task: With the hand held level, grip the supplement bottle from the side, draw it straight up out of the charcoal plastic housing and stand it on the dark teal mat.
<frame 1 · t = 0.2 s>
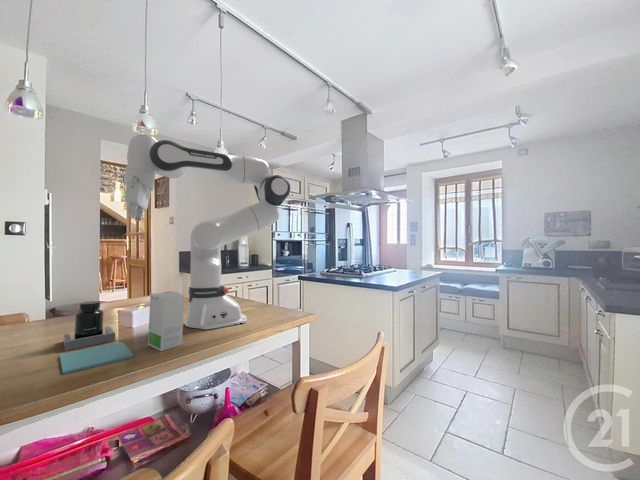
hand: (135, 219, 96), 39 cm above the table, tool pointing down, fingers open, 8 cm apart
mat: (96, 356, 74), on the table
housing: (89, 340, 86), on the table
supplement bottle: (89, 341, 86), resting in housing
skincare box: (166, 346, 83), on the table
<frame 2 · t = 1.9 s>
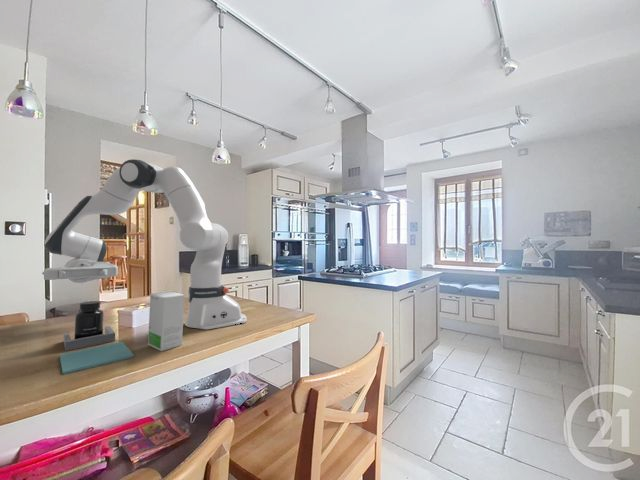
hand: (85, 274, 94), 20 cm above the table, tool horizontal, fingers open, 8 cm apart
nothing on the table moved.
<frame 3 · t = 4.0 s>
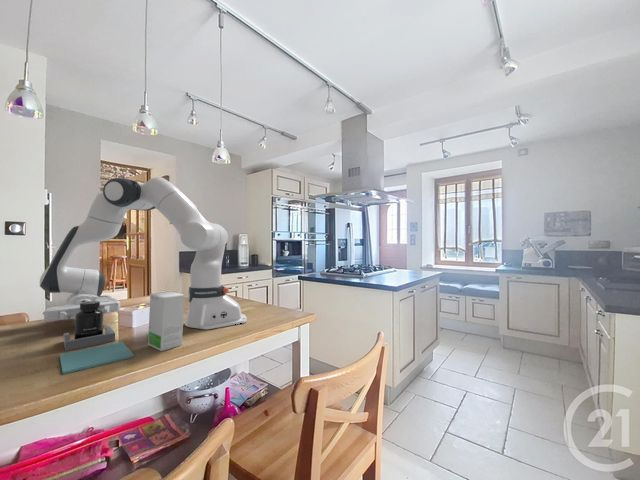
hand: (86, 313, 92), 7 cm above the table, tool horizontal, fingers open, 8 cm apart
nothing on the table moved.
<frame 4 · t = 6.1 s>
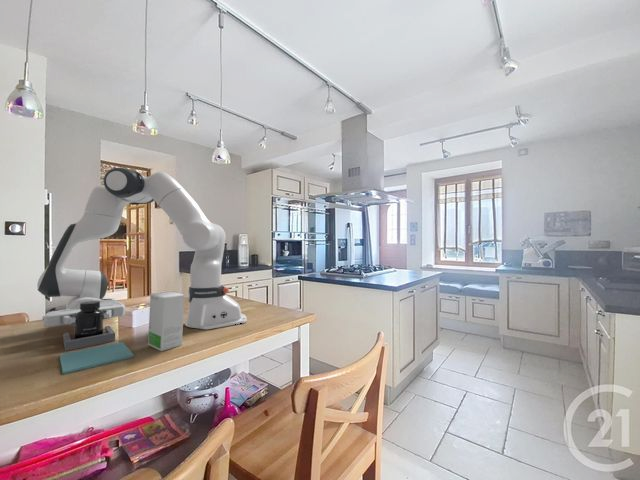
hand: (90, 318, 85), 7 cm above the table, tool horizontal, fingers closed on supplement bottle, 7 cm apart
supplement bottle: (89, 341, 86), resting in housing, touching gripper
everything else where it was.
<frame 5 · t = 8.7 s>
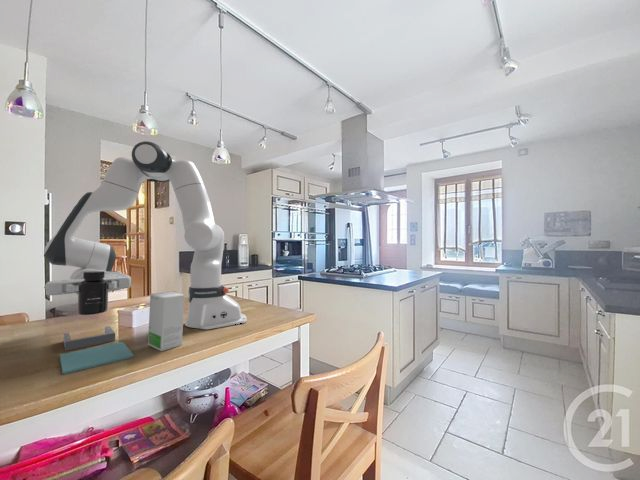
hand: (94, 287, 80), 18 cm above the table, tool horizontal, fingers closed on supplement bottle, 7 cm apart
supplement bottle: (93, 313, 81), point 10 cm above the table, touching gripper
everything else where it was.
when the fingers open (9 cm above the table, at t = 11.6 s): supplement bottle stays where it is, resting on mat.
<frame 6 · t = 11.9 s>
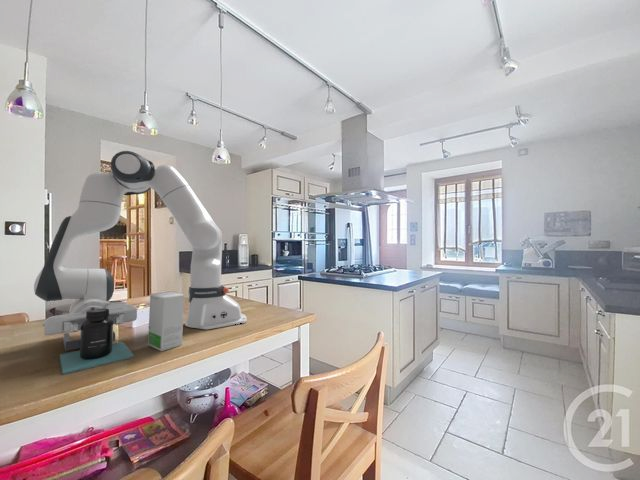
hand: (97, 325, 73), 9 cm above the table, tool horizontal, fingers open, 8 cm apart
supplement bottle: (96, 355, 74), resting on mat
everything else where it was.
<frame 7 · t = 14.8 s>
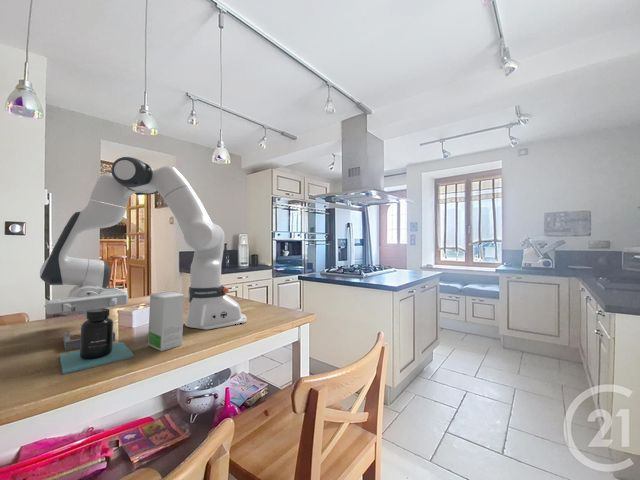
hand: (93, 306, 84), 11 cm above the table, tool horizontal, fingers open, 8 cm apart
nothing on the table moved.
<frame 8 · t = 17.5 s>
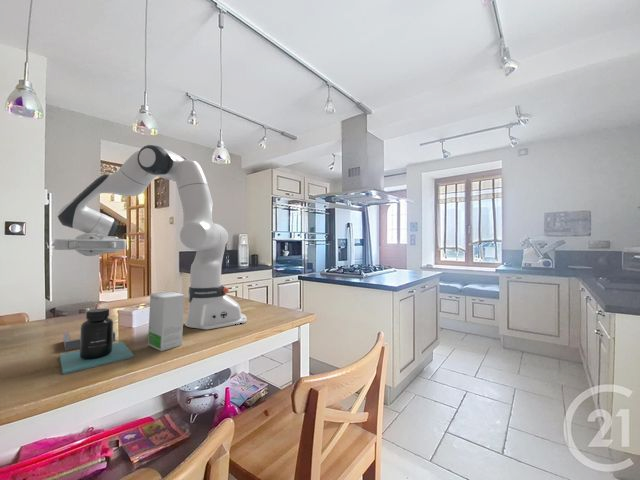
hand: (94, 244, 95), 30 cm above the table, tool horizontal, fingers open, 8 cm apart
nothing on the table moved.
at the end: supplement bottle inside the target area on the mat (0.2 cm from its centre), point 0.4 cm above the mat's base; supplement bottle tilted 0°; the gripper is holding nothing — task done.
